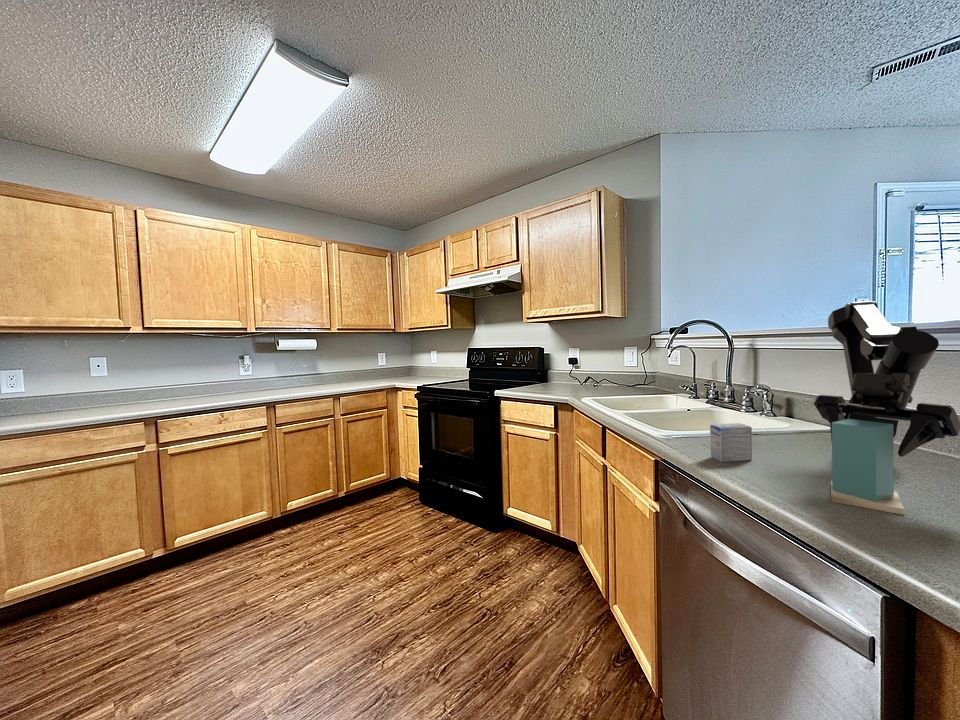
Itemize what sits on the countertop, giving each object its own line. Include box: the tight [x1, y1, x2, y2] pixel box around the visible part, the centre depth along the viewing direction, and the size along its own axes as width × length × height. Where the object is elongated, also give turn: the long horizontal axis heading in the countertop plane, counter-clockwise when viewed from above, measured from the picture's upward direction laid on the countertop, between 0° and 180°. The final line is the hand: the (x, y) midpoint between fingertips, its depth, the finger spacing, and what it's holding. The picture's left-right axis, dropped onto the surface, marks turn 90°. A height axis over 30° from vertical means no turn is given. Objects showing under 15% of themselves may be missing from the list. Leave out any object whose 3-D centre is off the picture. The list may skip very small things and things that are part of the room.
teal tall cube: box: [831, 419, 895, 502], centre depth 71 cm, size 6×6×13 cm
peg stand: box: [830, 480, 905, 516], centre depth 70 cm, size 10×9×4 cm
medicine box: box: [709, 422, 753, 463], centre depth 96 cm, size 8×4×9 cm, turn 92°
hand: (864, 449), depth 71 cm, fingers open, 9 cm apart
